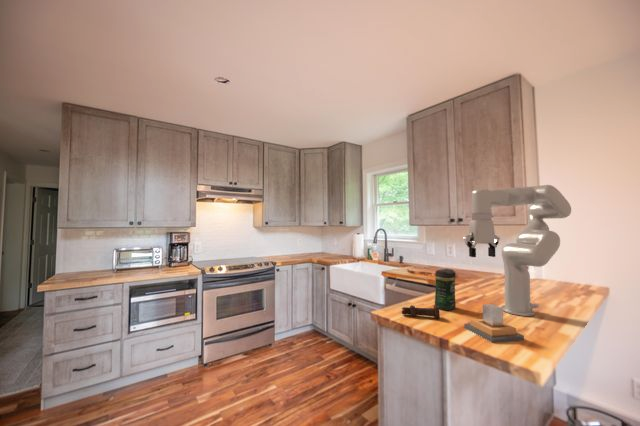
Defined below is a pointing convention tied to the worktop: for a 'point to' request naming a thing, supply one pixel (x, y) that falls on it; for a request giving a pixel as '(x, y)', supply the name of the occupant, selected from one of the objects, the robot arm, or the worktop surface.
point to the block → (492, 315)
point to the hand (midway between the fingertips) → (482, 256)
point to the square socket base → (494, 331)
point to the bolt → (421, 311)
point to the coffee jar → (445, 289)
